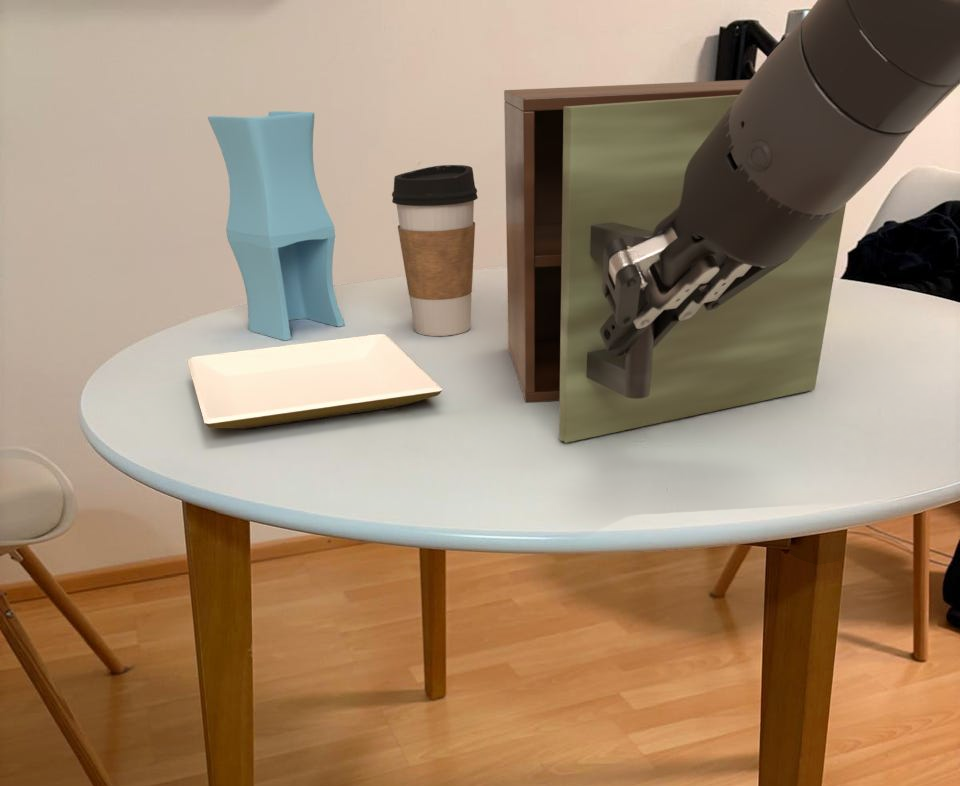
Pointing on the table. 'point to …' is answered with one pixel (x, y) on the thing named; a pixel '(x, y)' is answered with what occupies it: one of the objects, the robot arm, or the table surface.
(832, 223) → the door
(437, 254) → the coffee cup
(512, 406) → the table surface
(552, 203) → the cupboard
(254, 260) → the vase
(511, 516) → the table surface
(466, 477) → the table surface
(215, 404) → the plate
